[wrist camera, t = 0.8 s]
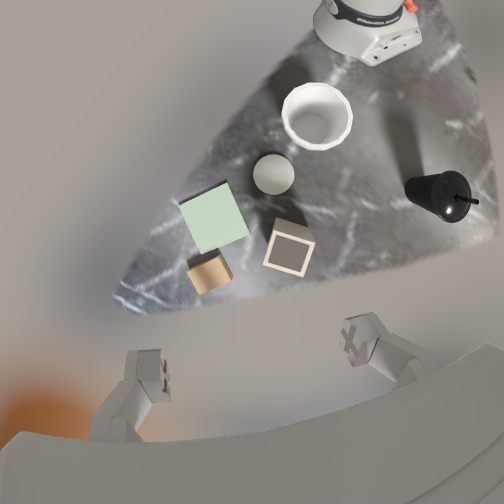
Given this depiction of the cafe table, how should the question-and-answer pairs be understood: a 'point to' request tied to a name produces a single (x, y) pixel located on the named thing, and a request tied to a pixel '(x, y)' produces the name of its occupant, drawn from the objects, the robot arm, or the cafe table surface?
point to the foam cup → (316, 116)
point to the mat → (214, 219)
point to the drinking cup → (442, 195)
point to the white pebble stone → (273, 174)
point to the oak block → (210, 274)
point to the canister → (289, 247)
